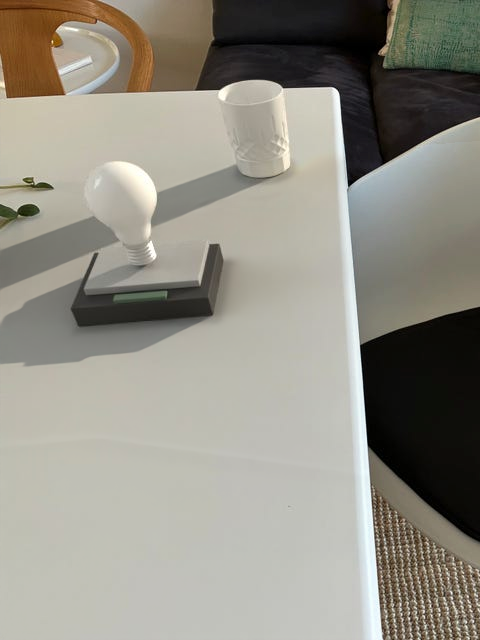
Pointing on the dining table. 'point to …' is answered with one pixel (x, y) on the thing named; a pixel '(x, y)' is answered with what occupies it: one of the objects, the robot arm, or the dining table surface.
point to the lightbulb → (124, 206)
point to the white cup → (256, 126)
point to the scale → (150, 284)
